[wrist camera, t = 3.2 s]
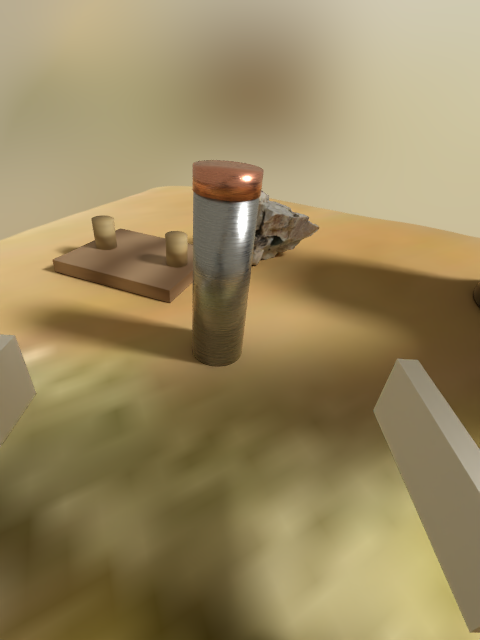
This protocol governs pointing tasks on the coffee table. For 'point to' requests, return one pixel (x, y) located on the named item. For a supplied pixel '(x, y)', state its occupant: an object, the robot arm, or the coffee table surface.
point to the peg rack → (132, 261)
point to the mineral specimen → (278, 229)
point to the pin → (222, 256)
